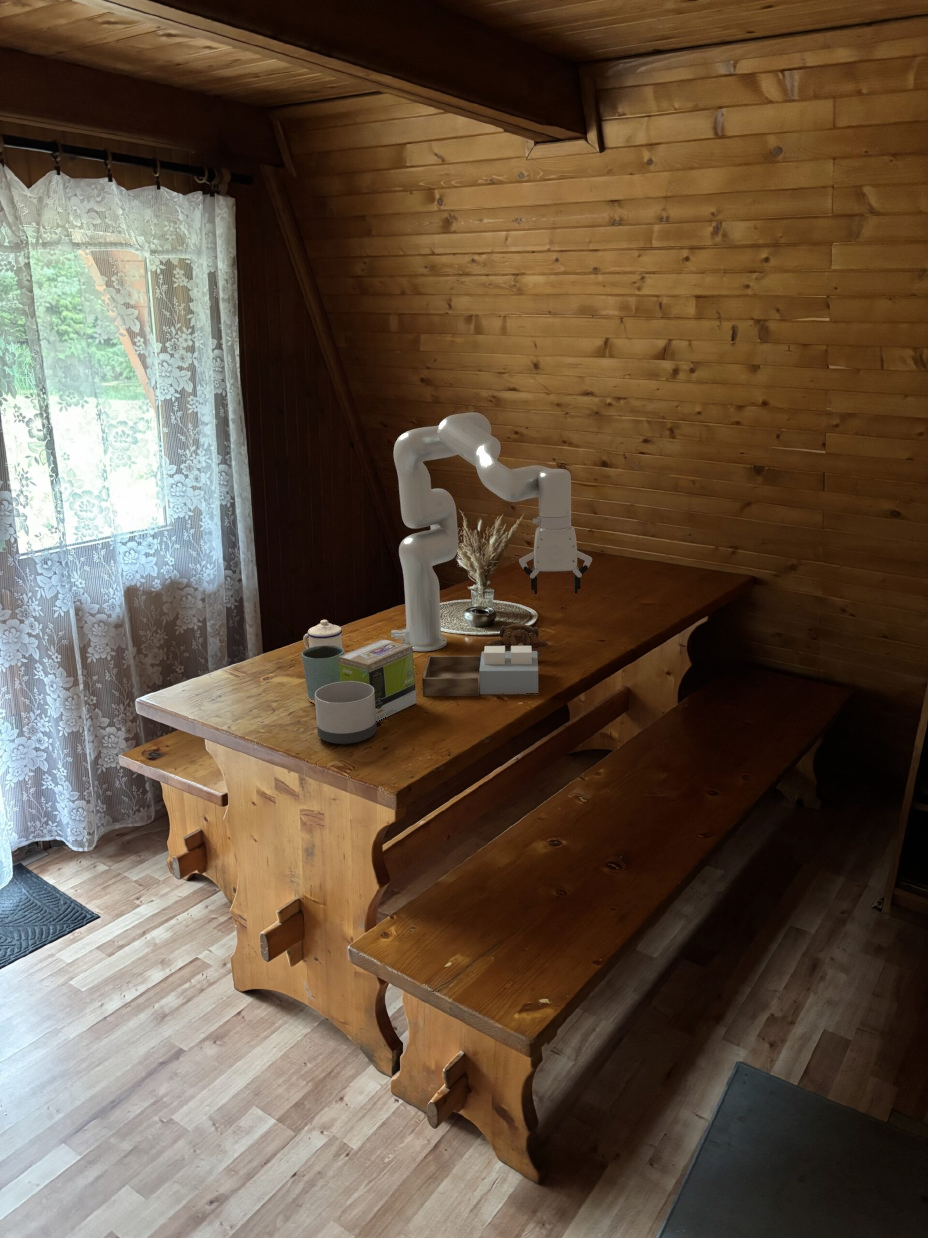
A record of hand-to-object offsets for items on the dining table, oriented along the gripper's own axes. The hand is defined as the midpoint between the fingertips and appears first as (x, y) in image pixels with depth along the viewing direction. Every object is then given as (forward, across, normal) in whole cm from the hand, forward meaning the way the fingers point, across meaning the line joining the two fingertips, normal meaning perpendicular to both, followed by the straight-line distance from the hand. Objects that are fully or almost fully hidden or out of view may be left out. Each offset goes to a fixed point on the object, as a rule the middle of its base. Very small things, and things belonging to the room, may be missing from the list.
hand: (555, 592), depth 230 cm
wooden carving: (+23, -10, +16) cm, 30 cm away
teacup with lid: (+22, -62, +16) cm, 68 cm away
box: (+23, -26, 0) cm, 34 cm away
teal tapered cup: (+23, -56, -10) cm, 61 cm away
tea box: (+23, -42, -16) cm, 50 cm away
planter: (+23, -47, -32) cm, 61 cm away
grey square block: (+23, -12, 0) cm, 26 cm away
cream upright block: (+17, -9, 0) cm, 19 cm away
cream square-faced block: (+17, -15, 0) cm, 23 cm away
